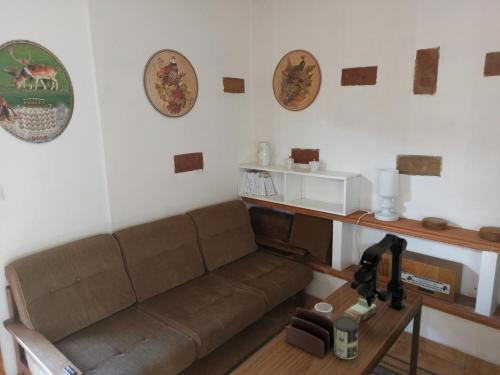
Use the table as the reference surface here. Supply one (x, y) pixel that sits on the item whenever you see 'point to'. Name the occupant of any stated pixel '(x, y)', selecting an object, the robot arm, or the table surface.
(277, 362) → the table surface
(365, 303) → the lid
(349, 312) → the block
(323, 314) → the dixie cup
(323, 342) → the letter holder
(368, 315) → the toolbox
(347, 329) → the coffee can
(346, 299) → the table surface
